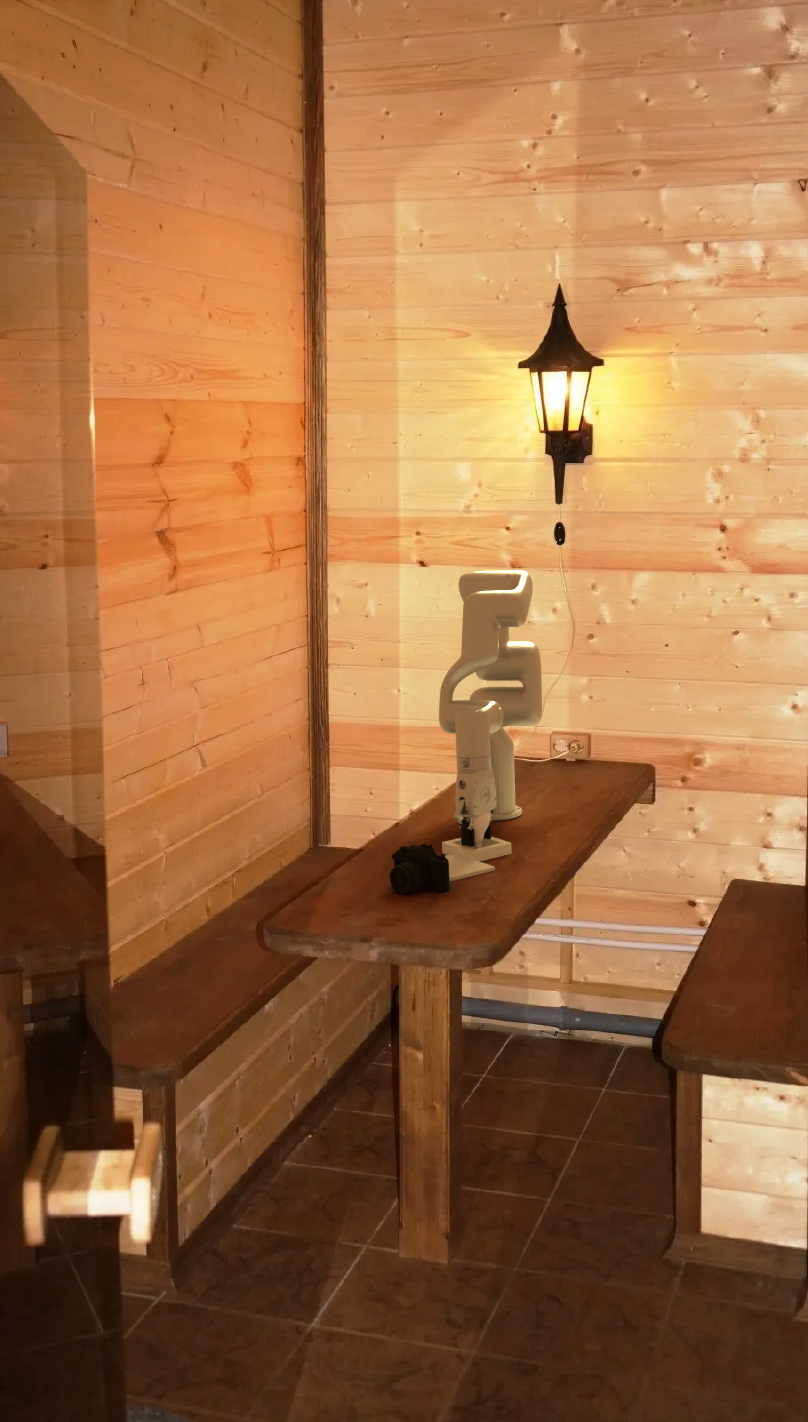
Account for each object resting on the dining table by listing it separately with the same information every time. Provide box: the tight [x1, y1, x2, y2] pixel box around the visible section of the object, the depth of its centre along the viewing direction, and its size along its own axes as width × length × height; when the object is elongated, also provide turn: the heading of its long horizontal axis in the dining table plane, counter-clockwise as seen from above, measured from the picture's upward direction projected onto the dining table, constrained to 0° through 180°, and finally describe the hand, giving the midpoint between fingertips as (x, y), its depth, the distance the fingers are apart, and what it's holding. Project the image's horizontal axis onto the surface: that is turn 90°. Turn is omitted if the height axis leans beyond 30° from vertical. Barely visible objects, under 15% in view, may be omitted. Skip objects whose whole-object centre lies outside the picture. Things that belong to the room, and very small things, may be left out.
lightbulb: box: [465, 812, 491, 849], centre depth 325 cm, size 6×6×11 cm
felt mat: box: [445, 854, 496, 882], centre depth 315 cm, size 14×14×1 cm
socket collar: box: [441, 836, 513, 862], centre depth 326 cm, size 11×11×2 cm
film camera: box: [389, 842, 451, 895], centre depth 302 cm, size 15×10×9 cm, turn 44°
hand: (476, 841), depth 326 cm, fingers closed on lightbulb, 6 cm apart
